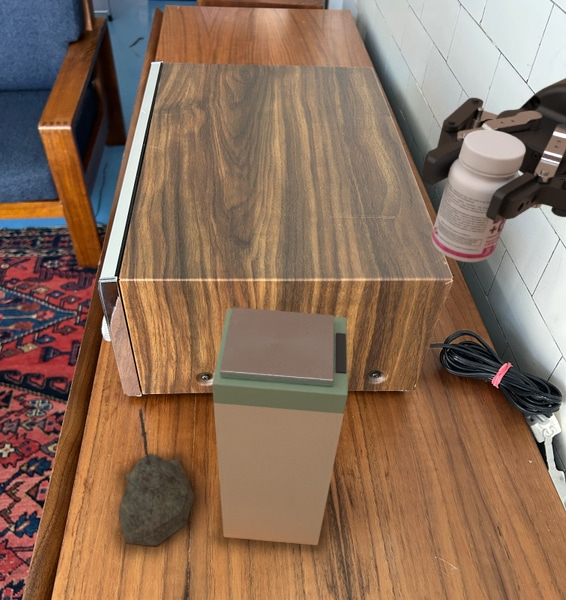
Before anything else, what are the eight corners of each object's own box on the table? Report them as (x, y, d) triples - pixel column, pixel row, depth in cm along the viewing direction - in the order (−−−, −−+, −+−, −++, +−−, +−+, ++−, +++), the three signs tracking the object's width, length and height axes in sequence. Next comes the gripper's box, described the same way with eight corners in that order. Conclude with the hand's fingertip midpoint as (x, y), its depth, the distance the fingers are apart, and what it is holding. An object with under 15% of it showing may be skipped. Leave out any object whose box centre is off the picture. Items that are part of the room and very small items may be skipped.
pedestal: (319, 476, 65) (343, 336, 49) (317, 545, 59) (344, 414, 43) (233, 468, 65) (228, 327, 49) (223, 537, 60) (213, 403, 43)
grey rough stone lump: (196, 541, 59) (187, 485, 51) (119, 552, 58) (97, 496, 50) (192, 457, 66) (184, 395, 58) (123, 465, 65) (105, 403, 57)
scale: (343, 336, 49) (347, 310, 46) (344, 414, 43) (349, 388, 41) (228, 327, 49) (227, 301, 47) (213, 403, 43) (211, 377, 41)
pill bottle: (492, 270, 41) (531, 168, 35) (426, 255, 42) (453, 153, 36) (496, 233, 44) (532, 133, 38) (435, 220, 45) (461, 121, 39)
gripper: (527, 44, 47) (388, 96, 39) (707, 106, 39) (582, 188, 31) (499, 128, 52) (372, 189, 44) (654, 197, 44) (535, 288, 36)
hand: (460, 188), depth 37 cm, fingers closed on pill bottle, 4 cm apart
